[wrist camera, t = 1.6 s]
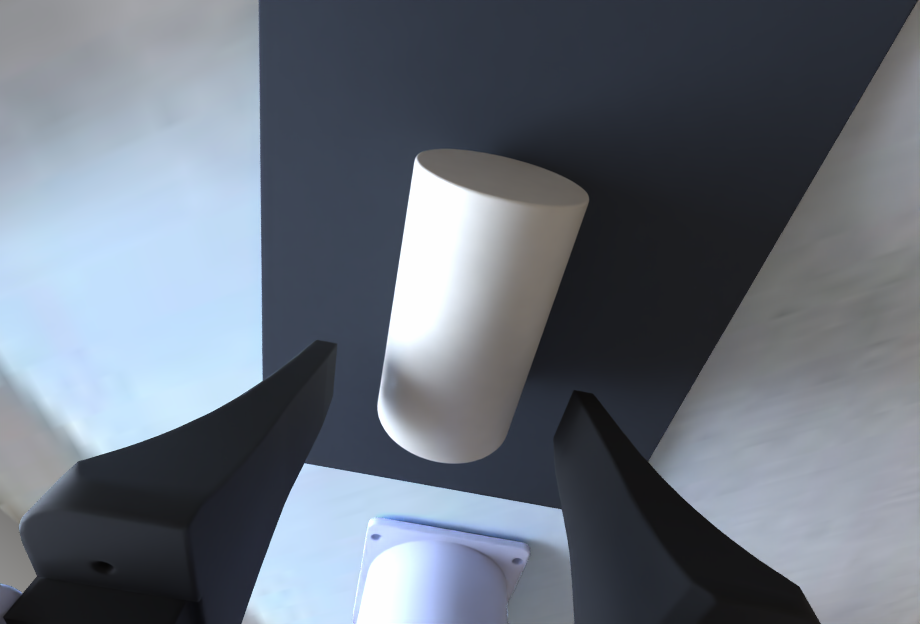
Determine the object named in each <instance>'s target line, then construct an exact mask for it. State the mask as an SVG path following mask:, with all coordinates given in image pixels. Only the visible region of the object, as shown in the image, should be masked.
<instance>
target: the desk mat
mask: <svg viewBox="0 0 920 624" xmlns="http://www.w3.org/2000/svg"><path fill="white" fill-rule="evenodd" d="M917 1H918V0H259V66H260V162H261V258H262V355H263V380H265V379H266V378H268V377H269V376H270V375H272V374H273V373H274V372H276V371H277V370H279V369H280V368H281V367H283V366H284V365H285V364H287V363H288V362H289V361H290V360H292V359H293V358H294V357H295V356H297V355H298V354H299V353H300V352H301V351H303V350H304V349H305V348H306V347H308V346H309V345H310V344H311V343H312V342H314V341H315V340H322V341H327V342H332V343H337V356H336V367H335V379H334V390H333V398H332V401H331V403H330V406H329V409H328V412H327V415H326V418H325V421H324V423H323V426H322V428H321V430H320V432H319V434H318V436H317V438H316V440H315V442H314V444H313V446H312V449H311V451H310V453H309V455H308V457H307V459H306V461H305V463H307V464H313V465H318V466H324V467H329V468H335V469H341V470H346V471H352V472H357V473H363V474H368V475H374V476H380V477H385V478H391V479H396V480H402V481H407V482H413V483H419V484H424V485H430V486H435V487H441V488H446V489H452V490H458V491H463V492H469V493H474V494H480V495H485V496H491V497H497V498H502V499H508V500H513V501H519V502H524V503H530V504H536V505H541V506H547V507H552V508H558V509H562V506H561V501H560V496H559V490H558V485H557V479H556V473H555V465H554V444H553V437H554V435H555V433H556V430H557V428H558V426H559V423H560V421H561V418H562V416H563V414H564V411H565V409H566V407H567V404H568V402H569V400H570V397H571V395H572V393H573V390H578V391H583V392H588V393H593V394H594V395H595V396H596V398H597V399H598V400H599V401H600V403H601V404H602V405H603V407H604V408H605V409H606V410H607V412H608V413H609V414H610V416H611V417H612V418H613V420H614V421H615V422H616V424H617V425H618V426H619V427H620V429H621V430H622V431H623V433H624V434H625V435H626V436H627V438H628V439H629V440H630V441H631V443H632V444H633V445H634V446H635V448H636V449H637V450H638V451H639V452H640V453H641V455H642V456H643V457H644V458H645V459H646V460H647V462H648V460H649V459H650V457H651V455H652V454H653V452H654V450H655V448H656V447H657V445H658V443H659V442H660V440H661V438H662V436H663V435H664V433H665V431H666V430H667V428H668V426H669V425H670V423H671V421H672V419H673V418H674V416H675V414H676V413H677V411H678V409H679V407H680V406H681V404H682V402H683V401H684V399H685V397H686V395H687V394H688V392H689V390H690V389H691V387H692V385H693V384H694V382H695V380H696V378H697V377H698V375H699V373H700V372H701V370H702V368H703V366H704V365H705V363H706V361H707V360H708V358H709V356H710V355H711V353H712V351H713V349H714V348H715V346H716V344H717V343H718V341H719V339H720V337H721V336H722V334H723V332H724V331H725V329H726V327H727V325H728V324H729V322H730V320H731V319H732V317H733V315H734V314H735V312H736V310H737V308H738V307H739V305H740V303H741V302H742V300H743V298H744V296H745V295H746V293H747V291H748V290H749V288H750V286H751V285H752V283H753V281H754V279H755V278H756V276H757V274H758V273H759V271H760V269H761V267H762V266H763V264H764V262H765V261H766V259H767V257H768V255H769V254H770V252H771V250H772V249H773V247H774V245H775V244H776V242H777V240H778V238H779V237H780V235H781V233H782V232H783V230H784V228H785V226H786V225H787V223H788V221H789V220H790V218H791V216H792V214H793V213H794V211H795V209H796V208H797V206H798V204H799V203H800V201H801V199H802V197H803V196H804V194H805V192H806V191H807V189H808V187H809V185H810V184H811V182H812V180H813V179H814V177H815V175H816V174H817V172H818V170H819V168H820V167H821V165H822V163H823V162H824V160H825V158H826V156H827V155H828V153H829V151H830V150H831V148H832V146H833V144H834V143H835V141H836V139H837V138H838V136H839V134H840V133H841V131H842V129H843V127H844V126H845V124H846V122H847V121H848V119H849V117H850V115H851V114H852V112H853V110H854V109H855V107H856V105H857V103H858V102H859V100H860V98H861V97H862V95H863V93H864V92H865V90H866V88H867V86H868V85H869V83H870V81H871V80H872V78H873V76H874V74H875V73H876V71H877V69H878V68H879V66H880V64H881V63H882V61H883V59H884V57H885V56H886V54H887V52H888V51H889V49H890V47H891V45H892V44H893V42H894V40H895V39H896V37H897V35H898V33H899V32H900V30H901V28H902V27H903V25H904V23H905V22H906V20H907V18H908V16H909V15H910V13H911V11H912V10H913V8H914V6H915V4H916V3H917ZM433 149H459V150H469V151H476V152H483V153H488V154H493V155H498V156H502V157H507V158H511V159H515V160H518V161H522V162H525V163H529V164H532V165H535V166H538V167H541V168H544V169H546V170H549V171H551V172H554V173H556V174H558V175H561V176H563V177H565V178H567V179H569V180H571V181H572V182H574V183H576V184H577V185H579V186H580V187H581V188H582V189H584V190H585V191H586V193H587V194H588V196H589V203H588V206H587V209H586V212H585V214H584V217H583V220H582V223H581V226H580V229H579V231H578V234H577V237H576V240H575V243H574V246H573V248H572V251H571V254H570V257H569V260H568V263H567V265H566V268H565V271H564V274H563V277H562V280H561V282H560V285H559V288H558V291H557V294H556V297H555V300H554V302H553V305H552V308H551V311H550V314H549V317H548V319H547V322H546V325H545V328H544V331H543V334H542V336H541V339H540V342H539V345H538V348H537V351H536V353H535V356H534V359H533V362H532V365H531V368H530V370H529V373H528V376H527V379H526V382H525V385H524V388H523V390H522V393H521V396H520V399H519V402H518V405H517V407H516V410H515V413H514V416H513V419H512V422H511V424H510V427H509V430H508V433H507V435H506V438H505V440H504V441H503V443H502V444H501V446H500V447H499V448H498V449H497V450H495V451H494V452H493V453H491V454H490V455H488V456H486V457H484V458H482V459H479V460H476V461H473V462H468V463H458V464H454V463H441V462H436V461H431V460H428V459H425V458H422V457H419V456H417V455H415V454H413V453H411V452H409V451H407V450H406V449H404V448H402V447H401V446H400V445H399V444H397V443H396V442H395V441H394V440H393V439H392V438H391V437H390V436H389V435H388V433H387V432H386V431H385V429H384V427H383V426H382V424H381V421H380V418H379V415H378V398H379V391H380V385H381V378H382V372H383V365H384V359H385V352H386V345H387V339H388V332H389V326H390V319H391V313H392V306H393V300H394V293H395V287H396V280H397V273H398V267H399V260H400V254H401V247H402V241H403V234H404V228H405V221H406V215H407V208H408V201H409V195H410V188H411V182H412V175H413V169H414V162H415V158H416V156H417V155H418V154H419V153H421V152H423V151H427V150H433Z"/></svg>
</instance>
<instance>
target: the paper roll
mask: <svg viewBox="0 0 920 624" xmlns="http://www.w3.org/2000/svg"><path fill="white" fill-rule="evenodd" d="M588 203H589V196H588V194H587V193H586V191H585V190H584V189H582V188H581V187H580V186H579V185H577V184H576V183H574V182H572V181H571V180H569V179H567V178H565V177H563V176H561V175H558V174H556V173H554V172H551V171H549V170H546V169H544V168H541V167H538V166H535V165H532V164H529V163H525V162H522V161H518V160H515V159H511V158H507V157H502V156H498V155H493V154H488V153H483V152H476V151H469V150H459V149H433V150H427V151H423V152H421V153H419V154H418V155H417V156H416V158H415V162H414V169H413V175H412V182H411V188H410V195H409V201H408V208H407V215H406V221H405V228H404V234H403V241H402V247H401V254H400V260H399V267H398V273H397V280H396V287H395V293H394V300H393V306H392V313H391V319H390V326H389V332H388V339H387V345H386V352H385V359H384V365H383V372H382V378H381V385H380V391H379V398H378V415H379V418H380V421H381V424H382V426H383V427H384V429H385V431H386V432H387V433H388V435H389V436H390V437H391V438H392V439H393V440H394V441H395V442H396V443H397V444H399V445H400V446H401V447H402V448H404V449H406V450H407V451H409V452H411V453H413V454H415V455H417V456H419V457H422V458H425V459H428V460H431V461H436V462H441V463H454V464H458V463H468V462H473V461H476V460H479V459H482V458H484V457H486V456H488V455H490V454H491V453H493V452H494V451H495V450H497V449H498V448H499V447H500V446H501V444H502V443H503V441H504V440H505V438H506V435H507V433H508V430H509V427H510V424H511V422H512V419H513V416H514V413H515V410H516V407H517V405H518V402H519V399H520V396H521V393H522V390H523V388H524V385H525V382H526V379H527V376H528V373H529V370H530V368H531V365H532V362H533V359H534V356H535V353H536V351H537V348H538V345H539V342H540V339H541V336H542V334H543V331H544V328H545V325H546V322H547V319H548V317H549V314H550V311H551V308H552V305H553V302H554V300H555V297H556V294H557V291H558V288H559V285H560V282H561V280H562V277H563V274H564V271H565V268H566V265H567V263H568V260H569V257H570V254H571V251H572V248H573V246H574V243H575V240H576V237H577V234H578V231H579V229H580V226H581V223H582V220H583V217H584V214H585V212H586V209H587V206H588Z"/></svg>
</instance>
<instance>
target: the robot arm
mask: <svg viewBox="0 0 920 624" xmlns="http://www.w3.org/2000/svg"><path fill="white" fill-rule="evenodd" d="M336 356H337V343H332V342H327V341H322V340H315V341H314V342H312V343H311V344H310V345H309V346H308V347H306V348H305V349H304V350H303V351H301V352H300V353H299V354H298V355H297V356H295V357H294V358H293V359H292V360H290V361H289V362H288V363H287V364H285V365H284V366H283V367H281V368H280V369H279V370H277V371H276V372H274V373H273V374H272V375H270V376H269V377H268V378H266V379H265V380H263V381H262V382H260V383H259V384H257V385H256V386H254V387H253V388H251V389H250V390H248V391H247V392H245V393H244V394H242V395H241V396H239V397H237V398H236V399H234V400H232V401H231V402H229V403H227V404H225V405H224V406H222V407H220V408H218V409H216V410H215V411H213V412H211V413H209V414H207V415H205V416H202V417H200V418H198V419H196V420H194V421H191V422H189V423H187V424H185V425H183V426H181V427H178V428H176V429H174V430H171V431H169V432H166V433H164V434H161V435H159V436H156V437H154V438H151V439H148V440H145V441H143V442H140V443H137V444H134V445H131V446H128V447H125V448H122V449H119V450H116V451H112V452H109V453H106V454H102V455H99V456H96V457H92V458H89V459H86V460H82V461H78V462H77V463H76V464H75V465H74V466H73V467H72V468H71V469H69V470H68V471H67V472H66V473H65V474H64V475H63V476H62V477H61V478H60V479H59V480H58V481H57V482H56V483H55V484H54V485H53V486H52V487H51V488H50V489H49V490H48V491H47V492H46V493H45V494H44V495H43V496H42V497H41V498H40V499H39V500H38V501H37V503H36V504H35V505H34V506H33V507H32V508H31V509H30V510H29V511H28V512H27V513H26V514H25V515H24V516H23V517H22V518H21V522H20V525H19V531H20V536H21V540H22V543H23V546H24V548H25V550H26V552H27V554H28V557H29V559H30V561H31V563H32V566H33V568H34V570H35V572H36V575H37V577H36V578H35V579H34V581H33V582H32V583H31V584H30V586H29V587H28V588H27V589H26V590H25V591H24V593H23V594H22V593H21V592H20V591H19V590H18V589H16V588H14V587H12V586H9V585H5V584H1V583H0V624H241V623H242V620H243V617H244V614H245V611H246V608H247V606H248V603H249V600H250V597H251V594H252V591H253V588H254V586H255V583H256V580H257V577H258V574H259V571H260V568H261V566H262V563H263V560H264V558H265V555H266V552H267V549H268V547H269V544H270V541H271V538H272V536H273V533H274V530H275V528H276V525H277V522H278V520H279V517H280V515H281V512H282V509H283V507H284V504H285V502H286V500H287V497H288V495H289V493H290V491H291V489H292V487H293V485H294V483H295V481H296V479H297V477H298V475H299V473H300V471H301V469H302V467H303V465H304V463H305V461H306V459H307V457H308V455H309V453H310V451H311V449H312V446H313V444H314V442H315V440H316V438H317V436H318V434H319V432H320V430H321V428H322V426H323V423H324V421H325V418H326V415H327V412H328V409H329V406H330V403H331V401H332V398H333V390H334V379H335V367H336ZM553 444H554V465H555V473H556V479H557V485H558V490H559V496H560V501H561V506H562V512H563V517H564V522H565V528H566V533H567V539H568V546H569V553H570V564H571V576H572V589H573V605H574V622H575V624H821V623H820V622H819V620H818V618H817V616H816V615H815V613H814V611H813V609H812V608H811V606H810V604H809V602H808V601H807V599H806V597H805V595H804V594H803V592H802V590H801V589H800V587H799V586H797V585H796V584H794V583H793V582H791V581H790V580H788V579H787V578H785V577H784V576H782V575H781V574H779V573H778V572H776V571H775V570H773V569H772V568H770V567H769V566H767V565H766V564H764V563H763V562H761V561H760V560H758V559H757V558H756V557H754V556H753V555H751V554H750V553H749V552H747V551H746V550H745V549H743V548H742V547H741V546H739V545H738V544H737V543H735V542H734V541H733V540H731V539H730V538H729V537H727V536H726V535H725V534H724V533H722V532H721V531H720V530H719V529H717V528H716V527H715V526H714V525H713V524H711V523H710V522H709V521H708V520H707V519H706V518H704V517H703V516H702V515H701V514H700V513H699V512H697V511H696V510H695V509H694V508H693V507H692V506H691V505H690V504H688V503H687V502H686V501H685V500H684V499H683V498H682V497H681V496H680V495H679V494H678V493H677V492H676V491H675V490H674V489H673V488H672V487H671V486H670V485H669V484H668V483H667V482H666V481H665V480H664V479H663V478H662V477H661V476H660V475H659V474H658V473H657V472H656V471H655V469H654V468H653V467H652V466H651V465H650V464H649V463H648V462H647V460H646V459H645V458H644V457H643V456H642V455H641V453H640V452H639V451H638V450H637V449H636V448H635V446H634V445H633V444H632V443H631V441H630V440H629V439H628V438H627V436H626V435H625V434H624V433H623V431H622V430H621V429H620V427H619V426H618V425H617V424H616V422H615V421H614V420H613V418H612V417H611V416H610V414H609V413H608V412H607V410H606V409H605V408H604V407H603V405H602V404H601V403H600V401H599V400H598V399H597V398H596V396H595V395H594V394H593V393H588V392H583V391H578V390H573V393H572V395H571V397H570V400H569V402H568V404H567V407H566V409H565V411H564V414H563V416H562V418H561V421H560V423H559V426H558V428H557V430H556V433H555V435H554V437H553ZM529 557H530V547H529V545H527V544H526V543H523V542H518V541H512V540H506V539H501V538H495V537H489V536H483V535H478V534H472V533H466V532H460V531H455V530H449V529H443V528H437V527H432V526H426V525H420V524H415V523H409V522H403V521H397V520H392V519H386V518H379V517H376V518H373V519H371V520H370V521H369V524H368V528H367V534H366V540H365V546H364V552H363V558H362V564H361V570H360V576H359V582H358V588H357V594H356V600H355V606H354V612H353V617H352V622H353V623H354V624H508V615H507V604H508V602H509V600H510V598H511V595H512V593H513V591H514V589H515V587H516V585H517V583H518V581H519V579H520V576H521V574H522V572H523V570H524V568H525V566H526V564H527V562H528V560H529Z"/></svg>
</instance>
